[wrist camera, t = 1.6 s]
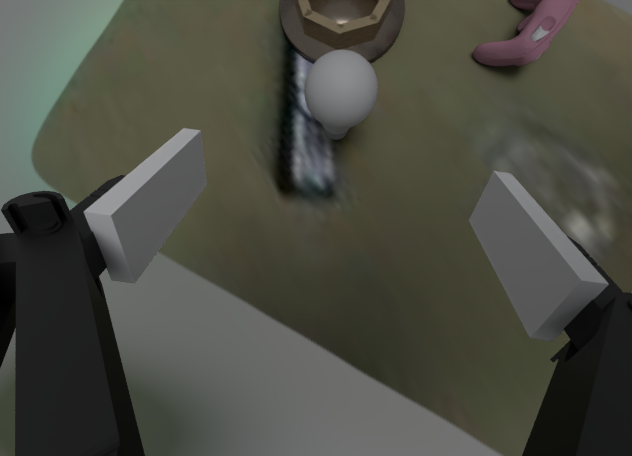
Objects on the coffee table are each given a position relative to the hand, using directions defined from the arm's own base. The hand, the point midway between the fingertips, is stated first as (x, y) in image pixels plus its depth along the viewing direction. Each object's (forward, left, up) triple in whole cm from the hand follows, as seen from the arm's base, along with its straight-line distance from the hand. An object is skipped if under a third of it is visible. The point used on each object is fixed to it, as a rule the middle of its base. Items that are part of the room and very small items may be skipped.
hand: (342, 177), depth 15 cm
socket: (+10, -23, -19) cm, 31 cm away
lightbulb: (+4, -10, -19) cm, 22 cm away
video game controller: (-8, -29, -19) cm, 36 cm away
